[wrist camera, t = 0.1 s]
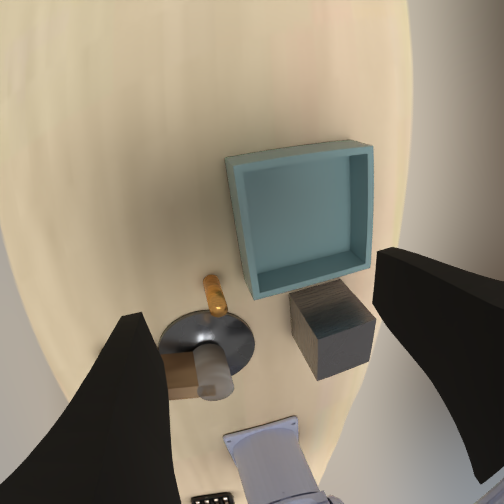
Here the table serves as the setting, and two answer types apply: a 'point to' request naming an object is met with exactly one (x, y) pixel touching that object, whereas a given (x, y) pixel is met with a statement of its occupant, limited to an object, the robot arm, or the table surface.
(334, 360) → the block
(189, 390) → the crank
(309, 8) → the table surface
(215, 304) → the crank base
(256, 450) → the robot arm
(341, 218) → the tray
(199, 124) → the table surface
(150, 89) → the table surface
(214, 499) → the battery charger
